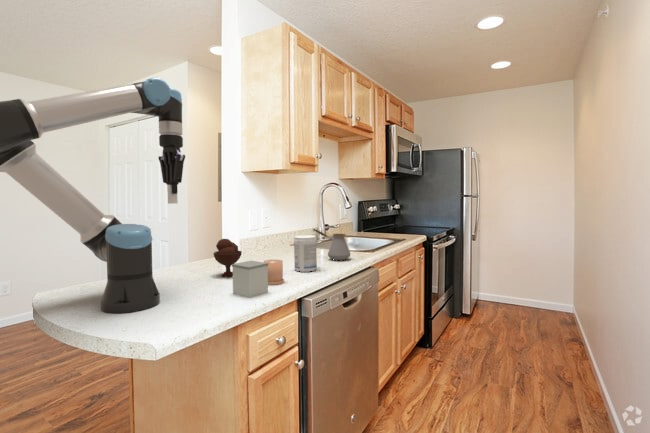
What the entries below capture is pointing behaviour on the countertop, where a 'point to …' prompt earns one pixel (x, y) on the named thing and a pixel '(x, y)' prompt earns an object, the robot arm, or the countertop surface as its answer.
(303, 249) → the supplement tub
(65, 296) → the countertop surface
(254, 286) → the grey tub
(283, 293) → the countertop surface
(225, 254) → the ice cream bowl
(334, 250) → the coffee pot
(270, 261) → the terracotta pot
